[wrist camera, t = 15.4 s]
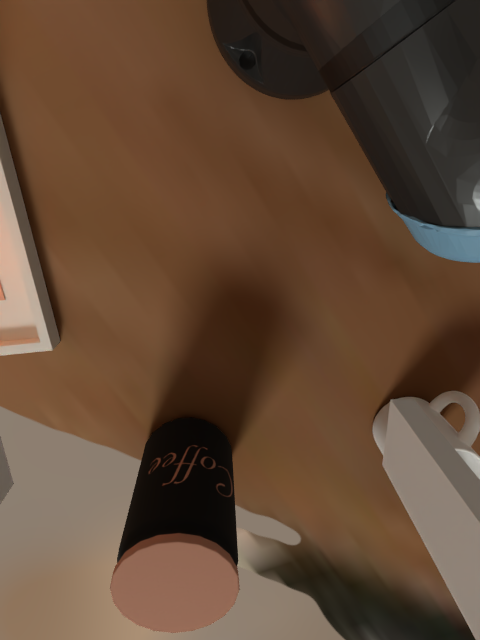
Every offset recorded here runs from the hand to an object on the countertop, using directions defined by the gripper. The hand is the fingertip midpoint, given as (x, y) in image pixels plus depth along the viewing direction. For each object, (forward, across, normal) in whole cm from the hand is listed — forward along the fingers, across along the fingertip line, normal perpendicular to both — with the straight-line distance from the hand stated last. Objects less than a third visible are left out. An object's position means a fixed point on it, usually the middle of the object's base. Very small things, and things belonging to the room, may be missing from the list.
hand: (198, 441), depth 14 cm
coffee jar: (+30, -4, -24) cm, 39 cm away
